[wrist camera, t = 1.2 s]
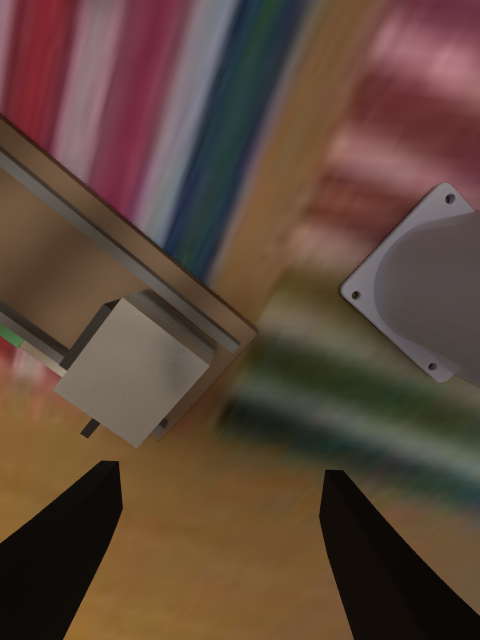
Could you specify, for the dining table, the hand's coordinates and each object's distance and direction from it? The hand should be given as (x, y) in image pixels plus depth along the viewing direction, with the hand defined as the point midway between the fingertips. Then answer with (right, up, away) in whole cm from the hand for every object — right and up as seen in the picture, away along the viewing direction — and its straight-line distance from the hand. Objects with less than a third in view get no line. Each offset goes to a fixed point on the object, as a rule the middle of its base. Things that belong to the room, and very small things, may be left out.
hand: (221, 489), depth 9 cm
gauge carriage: (-5, +3, +7) cm, 9 cm away
